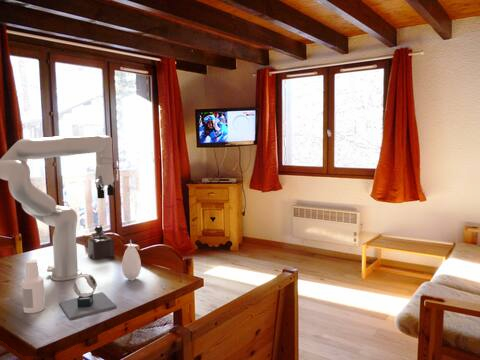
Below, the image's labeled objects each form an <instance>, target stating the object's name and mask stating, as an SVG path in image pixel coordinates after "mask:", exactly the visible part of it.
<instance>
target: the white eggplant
mask: <svg viewBox="0 0 480 360" xmlns="http://www.w3.org/2000/svg"><path fill="white" fill-rule="evenodd" d="M141 268H142V262H141V257H140V254H139V252H138V250H137V248H136V247H135V245H134V244H132V239H130V240H129V244H128V245H127V248H126V249H125V251H124V254H123V256H122V262H121V269H122V273H123V276H124V277H125V278H126V279H127V280H128V281H134V280H135V279H137V278H138V277H139V275H140V273H141V271H142V270H141Z"/></svg>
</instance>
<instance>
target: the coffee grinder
mask: <svg viewBox="0 0 480 360" xmlns="http://www.w3.org/2000/svg"><path fill="white" fill-rule="evenodd" d="M94 231H95V235H93V237H89V238H87V252H88V253H87V257H89V258H90V259H93V260H95V261H96V260H103V259H109V258H113V257H114V256H115V249H114V248H115V244H114V243H115V239H114V238H112V237H110V236H108V235H105V231H104V229H103V226H102V225H101V224H100V225H97V226H95V227H94Z"/></svg>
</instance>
